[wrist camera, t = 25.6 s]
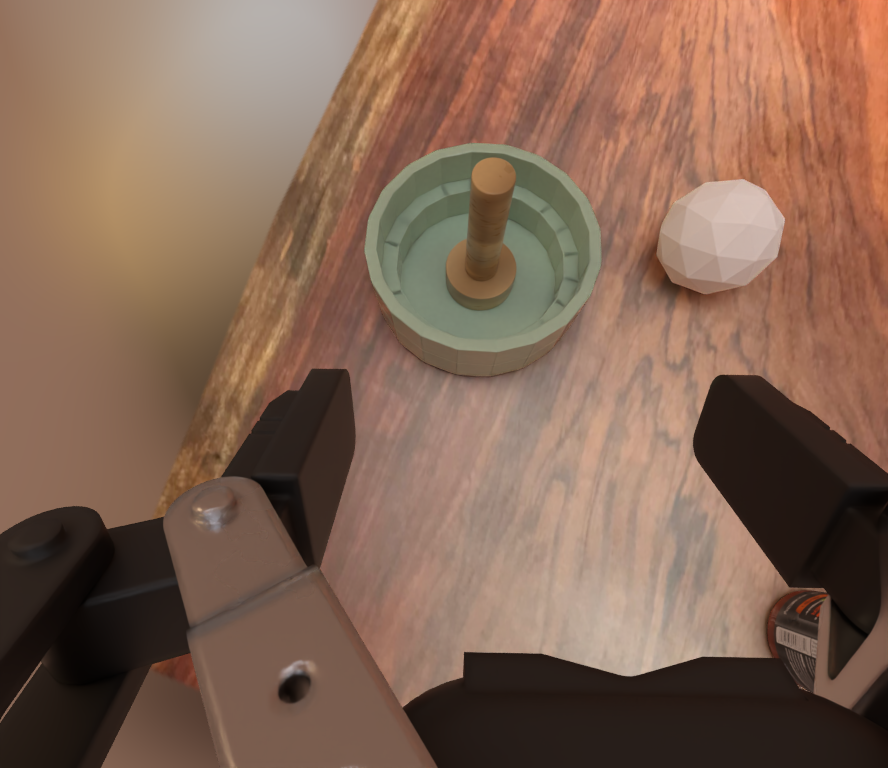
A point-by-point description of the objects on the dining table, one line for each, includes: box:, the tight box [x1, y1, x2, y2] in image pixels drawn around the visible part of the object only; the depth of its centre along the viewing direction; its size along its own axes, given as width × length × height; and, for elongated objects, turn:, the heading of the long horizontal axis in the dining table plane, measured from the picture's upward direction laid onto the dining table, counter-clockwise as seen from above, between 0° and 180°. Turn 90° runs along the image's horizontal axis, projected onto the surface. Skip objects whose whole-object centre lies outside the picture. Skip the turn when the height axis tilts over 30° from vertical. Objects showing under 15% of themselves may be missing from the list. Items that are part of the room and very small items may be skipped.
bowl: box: [364, 143, 602, 377], centre depth 33 cm, size 16×16×6 cm
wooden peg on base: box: [446, 157, 517, 310], centre depth 30 cm, size 5×5×12 cm
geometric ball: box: [656, 179, 785, 294], centre depth 33 cm, size 8×8×8 cm
